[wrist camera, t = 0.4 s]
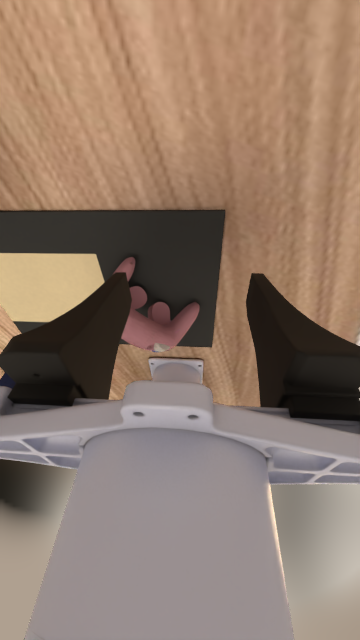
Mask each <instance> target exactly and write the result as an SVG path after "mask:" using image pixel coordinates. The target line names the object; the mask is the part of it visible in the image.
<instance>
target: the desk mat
mask: <svg viewBox="0 0 360 640" xmlns="http://www.w3.org/2000/svg"><path fill="white" fill-rule="evenodd" d="M224 219H225V210H97V211H0V305H1V306H2V307H3V309H4V310H5V311H6V313H7V314H8V315H9V317H10V318H11V320H12V321H13V322H14V324H15V325H16V326H17V328H18V329H19V330H20V332H21V333H25V332H28V331H30V330H33V329H35V328H37V327H40V326H42V325H44V324H46V323H48V322H50V321H52V320H54V319H56V318H57V317H59V316H61V315H63V314H65V313H66V312H68V311H69V310H71V309H72V308H74V307H75V306H77V305H78V304H80V303H81V302H82V301H84V300H85V299H86V298H87V297H89V296H90V295H91V294H92V293H93V292H95V291H96V290H97V289H98V288H99V287H100V286H101V285H102V284H103V283H104V282H106V281H107V280H108V279H109V278H110V277H111V276H112V275H113V273H114V272H115V270H116V269H117V268H118V267H119V265H120V264H121V263H122V262H123V261H124V260H125V259H127V258H129V257H133V258H134V259H135V268H134V271H133V274H132V276H131V278H130V280H129V282H128V284H129V288H131V287H134V286H139V287H141V288H142V289H143V290H144V291H145V292H146V294H147V301H146V303H145V304H144V306H142V307H140V308H138V309H135V310H136V311H137V312H139V313H140V314H142V315H143V316H145V317H147V318H148V309H149V307H150V306H151V305H152V304H155V303H157V302H163V303H165V304H167V305H168V307H169V309H170V320H171V321H172V320H173V319H174V318H175V317H176V316H177V315H178V314H179V313H180V312H181V311H182V310H183V309H184V308H185V307H186V306H187V305H189V304H191V303H193V302H196V303H198V304H199V313H198V316H197V318H196V319H195V321H194V322H193V324H192V325H191V327H190V328H189V330H188V331H187V332H186V334H185V335H184V336H183V338H182V339H181V341H180V342H179V343H178V344H177V345H176V346H189V347H212V340H213V330H214V320H215V310H216V300H217V290H218V280H219V270H220V259H221V249H222V239H223V229H224ZM119 344H129V343H128V342H126V341H124V340H123V339H121V340H120V343H119Z"/></svg>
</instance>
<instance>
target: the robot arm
mask: <svg viewBox="0 0 360 640" xmlns="http://www.w3.org/2000/svg"><path fill="white" fill-rule="evenodd" d="M131 303H132V297H131V293H130V288H129V284H128V280H127V275H126V272H115V273H114V274H113V275H112V276H111V277H110V278H109V279H108V280H107V281H106V282H104V283H103V284H102V285H101V286H100V287H99V288H98V289H97V290H96V291H95V292H93V293H92V294H91V295H90V296H89V297H87V298H86V299H85V300H84V301H82V302H81V303H80V304H78V305H77V306H75V307H74V308H72V309H71V310H69V311H68V312H66V313H65V314H63V315H61V316H59V317H57V318H56V319H54V320H52V321H50V322H48V323H46V324H44V325H42V326H40V327H37V328H35V329H33V330H30V331H28V332H25V333H22V334H20V335H17V336H14V337H13V338H12V339H11V340H10V342H9V343H8V345H7V346H6V347H5V349H4V350H3V352H2V353H1V354H0V367H1V368H2V369H3V370H4V371H5V373H6V374H7V375H8V376H9V377H10V378H11V379H12V380H13V381H14V382H15V383H16V384H15V385H14V387H13V389H11V388H9V387H5V386H0V459H8V460H17V461H24V462H32V463H38V464H46V465H51V466H58V467H64V468H71V469H77V474H76V477H75V480H74V483H73V486H72V489H71V493H70V496H69V499H68V502H67V505H66V508H65V511H64V515H63V518H62V521H61V524H60V528H59V530H58V534H57V537H56V540H55V543H54V546H53V550H52V553H51V556H50V559H49V562H48V565H47V568H46V571H45V575H44V578H43V581H42V584H41V587H40V591H39V594H38V597H37V600H36V603H35V606H34V609H33V613H32V616H31V619H30V622H29V625H28V628H27V631H26V635H25V638H24V640H294V635H293V629H292V622H291V617H290V610H289V603H288V597H287V591H286V585H285V579H284V572H283V566H282V559H281V553H280V546H279V540H278V534H277V528H276V522H275V515H274V508H273V502H272V496H271V489H270V484H360V400H359V398H360V391H359V389H358V388H359V387H360V346H358V345H356V344H353V343H351V342H349V341H347V340H345V339H342V338H340V337H339V336H337V335H335V334H333V333H331V332H329V331H328V330H326V329H324V328H322V327H321V326H319V325H318V324H316V323H315V322H313V321H312V320H310V319H309V318H307V317H306V316H305V315H303V314H302V313H301V312H300V311H298V310H297V309H296V308H295V307H294V306H293V305H291V304H290V303H289V302H288V301H287V300H286V299H285V298H284V297H283V296H282V295H281V294H280V293H279V292H278V291H277V289H276V288H275V287H274V286H273V285H272V284H271V282H270V281H269V280H268V279H267V278H266V277H265V275H264V274H259V273H252V274H251V279H250V284H249V289H248V294H247V299H246V307H247V317H248V321H249V325H250V330H251V334H252V338H253V342H254V347H255V352H256V360H257V368H258V379H259V390H260V404H261V407H248V406H228V405H224V404H219V403H215V402H213V394H212V392H211V389H209V388H208V387H206V386H204V385H203V384H202V377H203V360H198V359H172V358H149V366H150V371H151V375H152V380H140V381H134V382H132V383H130V384H128V385H127V386H126V389H125V393H124V397H123V399H121V400H108V399H109V392H110V386H111V380H112V374H113V369H114V364H115V359H116V354H117V350H118V346H119V343H120V340H121V337H122V334H123V331H124V328H125V325H126V322H127V319H128V316H129V313H130V308H131Z"/></svg>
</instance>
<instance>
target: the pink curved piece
mask: <svg viewBox="0 0 360 640" xmlns="http://www.w3.org/2000/svg"><path fill="white" fill-rule="evenodd" d="M134 268H135V259H134V258H133V257H129V258H127V259H125V260H124V261H123V262H122V263H121V264H120V265H119V267H118V268H117V269H116V270H115V272H126V275H127V280H128V282H129V280H130V278H131V276H132V274H133V271H134ZM115 272H114V273H115ZM114 273H113V274H114ZM130 293H131V297H132V303H131V308H130V313H129V316H128V319H127V322H126V325H125V328H124V331H123V334H122V337H121V339H123V340H124V341H126V342H128V343H129V344H132V345H134V346H136V347H139V348H142V349H145V350H152V351H153V352H163V351H168V350H170V349H172V348H173V347H175V346H176V345H177V344H178V343H179V342H180V341H181V339H182V338H183V336H184V335H185V334H186V332H187V331H188V330H189V328H190V327H191V325H192V324H193V322H194V321H195V319H196V318H197V316H198V313H199V304H198V303H196V302H193V303H191V304H189V305H187V306H186V307H185V308H184V309H183V310H182V311H181V312H180V313H179V314H178V315H177V316H176V317H175V318H174V319H173V320H172V321H171V320H170V309H169V307H168V305H167V304H165V303H163V302H157V303H155V304H152V305H151V306H150V307H149V309H148V318H147V317H145V316H143V315H142V314H140V313H139V312H137V311H136V310H135V309H138V308H140V307H142V306H144V304H145V303H146V301H147V294H146V292H145V291H144V290H143V289H142V288H141V287H139V286H134V287H131V288H130Z"/></svg>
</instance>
